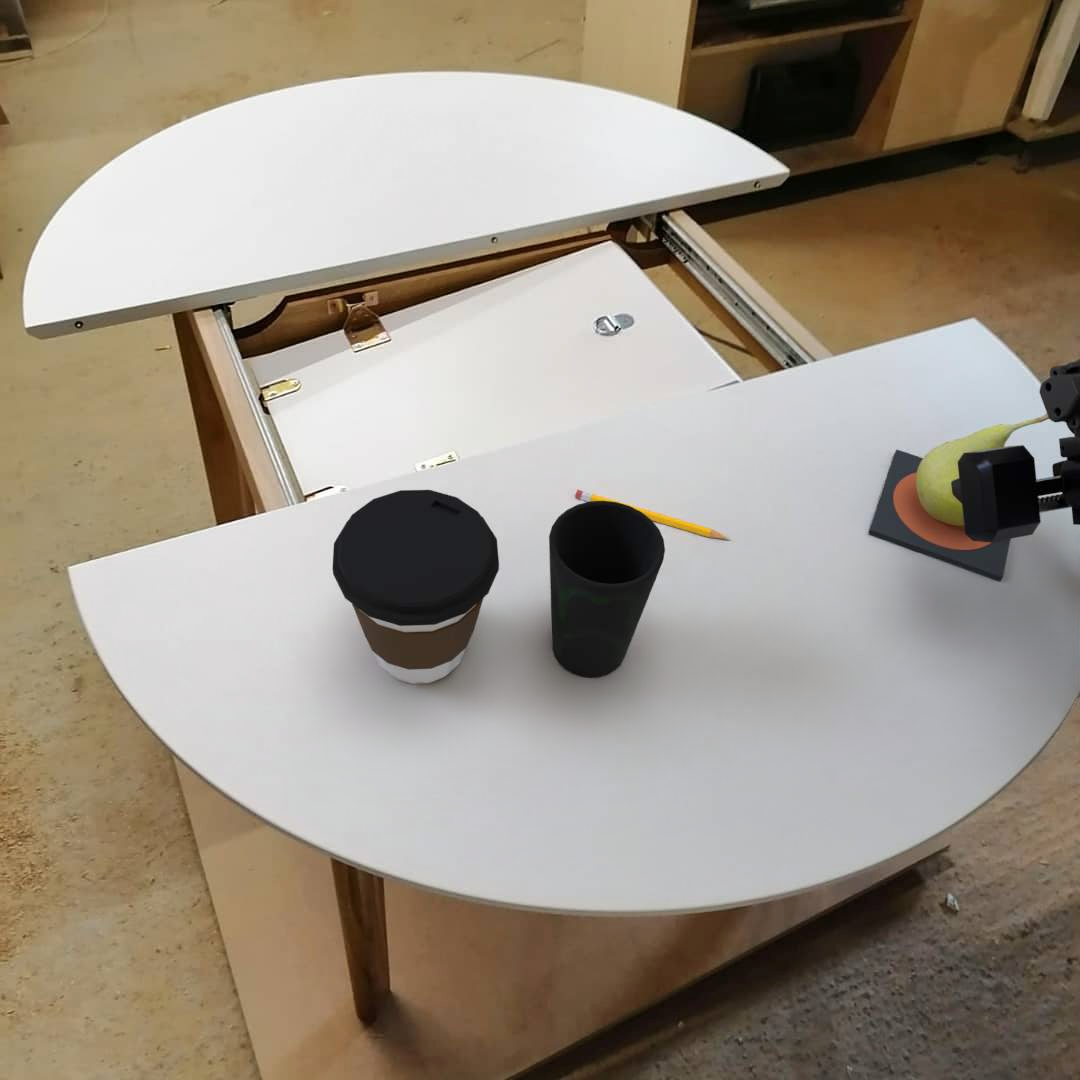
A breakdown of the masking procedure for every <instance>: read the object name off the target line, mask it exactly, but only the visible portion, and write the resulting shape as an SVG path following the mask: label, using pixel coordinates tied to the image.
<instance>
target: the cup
mask: <svg viewBox="0 0 1080 1080" xmlns="http://www.w3.org/2000/svg"><path fill="white" fill-rule="evenodd" d="M618 502H619V501H618ZM618 502H612V501H590V502H588V501H585V502H582V503H579V504H576V505H574V506H572V507H570V508H568V509H565V511H564V512H563V513H561V514H560V515H559V516H558V517H557V518H556V519H555V520H554V523H553V524H552V526H551V529H550V532H549V535H548V544H549V547H548V548H549V582H550V585H549V586H550V589H549V590H550V617H551V618H550V619H551V620H550V621H551V650H552V654H553V657H554V658H555V660H556V661H557V663H558V664H559V665H560V666H561V667H562V668H563V669H564V670H565V671H567V672H568V673H570V674H572V675H575V676H578V677H581V678H586V679H597V678H602V677H606V676H608V675H610V674H612V673H613V672H615V671H616V670H618V668H619V667H621V665H622V663H623V661H624V660H625V659H626V658H625V657H626V655H627V653H628V650H629V647H630V645H631V642H632V640H633V637H634V635H635V632H636V630H637V627H638V625H639V622H640V620H641V617H642V615H643V612H644V610H645V607H646V605H647V602H648V600H649V597H650V594H651V592H652V590H653V587H654V584H655V583H656V579H657V578H658V575H659V572H660V570H661V567H662V564H663V562H664V558H665V552H666V546H665V540H664V537H663V535H662V532H661V529H659V527H658V526H657V525H656V523H655V521H652V520H651V519H650V518H648V517H647V516H646V515H645V514H643V513H642V512H640V511H638V510H637V509H635V508H633V507H631V506H628V505H629V504H628V505H625V504H626V503H625V504H621V503H622V502H621V503H618Z"/></svg>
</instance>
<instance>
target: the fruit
mask: <svg viewBox="0 0 1080 1080" xmlns="http://www.w3.org/2000/svg"><path fill="white" fill-rule="evenodd" d="M1048 420H1050V419H1049V417H1048V414H1047V412H1046V413H1045V414H1043V415H1041V416H1039V417H1036V418H1031V419H1028V420H1027V419H1026V420H1024V421H1021V422H1017V423H1014V424H1007V423H1005V424H1004V423H1000V424H997V425H993V426H990V427H985V428H983V429H980V430H978V431H975V432H973V433H972V434H969V435H967V436H964V437H961V438H958V439H954V440H951V441H947V442H944V443H942V444H941V443H940V444H939V445H936V446H935V447H933V448H932V449H930V450H929V451H928V452H927V453H926V454H925V455H924V457H922V458H923V459H922V461H921V463H920V465H919V467H918V470H917V475H916V488H917V493H918V497H919V500H920V503H921V505H922V506H923V508H924V509H925V511H926V512H927V513H928V514H929V515H930V516H932V517H933V518H935V519H936V520H939V521H941V522H944V523H947V524H950V525H955V526H964V518H963V508H962V503H961V502H960V501H959V500H958V499H957V498H956V497H955V496H954V495H953V494H952V486H951V482H952V481H953V480H955V479H958V478H959V471H958V461H959V459H960V458H961V456H962V455H963V453H966V452H972V451H978V450H985V449H991V448H997V447H1005V445H1006V443H1007V441H1008V439H1009V438H1010V436H1011V435H1012V434H1013V433H1014V432H1015V431H1017V430H1019V429H1021V428H1024V427H1027V426H1030V425H1034V424H1039V423H1043V422H1045V421H1048Z"/></svg>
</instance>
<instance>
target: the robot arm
mask: <svg viewBox="0 0 1080 1080" xmlns="http://www.w3.org/2000/svg"><path fill="white" fill-rule="evenodd" d="M1038 393H1039V395H1040V398H1041V401H1042V403H1043V406H1044V409H1045V412H1046V413H1047V414H1048V417H1049V419H1048V420H1050V421H1051V422H1053V423H1065V424H1066V427H1067V428H1068V430H1069V431H1070V432H1071V433H1072V434H1073V435H1074V436H1068V437H1061V438H1058V443H1059V453H1060V457H1061V458H1066V459H1064V460H1062V461H1057V462H1054V463H1053V464H1052V475H1053V476H1050V477H1044V478H1038V479H1037V471H1036V463H1035V461H1036V460H1035V457H1034V456H1033V455H1032V453H1031V452H1030V451H1029V450H1028V449H1027V448H1026V447H1025V445H1023V444H1021V445H1020V444H1019V445H1007V446H1004V447H997V448H991V449H985V450H978V451H972V452H966V453H963V455H962V456H961V458H960V459H959V461H958V471H959V478H958V479H955V480H953V481H952V482H951V486H952V494H953V495H954V496H955V497H956V498H957V499H958V500H959V501H960V502H961V503H962V508H963V518H964V527H965V535H967V536H968V537H969V538H970V539H971V540H973V541H979V542H996V541H1001V540H1006V539H1010V540H1011V539H1017V538H1022V537H1027V536H1032V535H1034V533H1035V532H1036V530H1037V529H1038V527H1039V525H1040V524H1041V514H1042V513H1046V512H1047V513H1048V512H1052V511H1057V510H1062V509H1068V508H1071V516H1072V517H1071V518H1072V525H1073V526H1075V525H1076V526H1080V358H1078V359H1077V360H1075V361H1071V362H1068V363H1067V364H1062V365H1054V366H1052V367H1051V368H1050V370H1049V377H1048V378H1047V379H1046V380H1044V381H1043V382H1041V384H1040V387H1039V392H1038ZM1059 493H1060V494H1059ZM1053 494H1055V495H1053ZM1048 495H1049V496H1048Z"/></svg>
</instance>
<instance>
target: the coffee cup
mask: <svg viewBox="0 0 1080 1080" xmlns="http://www.w3.org/2000/svg"><path fill="white" fill-rule="evenodd" d="M332 550H333V552H332V575H333V577H334V579H335V581H336V583H337V585H338V587H339V589H340V592H341V594H342V595H343V598H344V599H345V600H346V601H348V602H349V603H350V604H351V605H352V607H353V610H354V612H355V615H356V617H357V620H358V622H359V625H360V628H361V631H362V632H363V635H364V637H365V639H366V642H367V643H368V646H369V648H370V649H371V651H372V652H373V654H374V656H375V658H376V660H377V662H378V664H379V666H380V667H381V668H382V669H383V670H385V671H386V672H387V673H388V674H390V676H392V677H394V678H395V679H396V680H398V681H402V682H405V683H409V684H411V685H417V684H419V685H420V684H431V683H434V682H436V681H438V680H441V679H443V678H445V677H446V676H447V675H449V674H450V673H451V672H452V671H453V670H454V669H455V668H456V667H457V666H459V664H460V663H461V661H462V659H463V656H464V654H465V652H466V650H467V647H468V645H469V643H470V640H471V638H472V636H473V634H474V631H475V628H476V625H477V621H478V618H479V615H480V611H481V608H482V605H483V602H484V598H485V597H486V596H487V595H488V594H489V593H490V590H491V588H492V586H493V584H494V582H495V580H496V577H497V574H498V573H499V569H500V559H499V546H498V539H497V537H496V535H495V533H494V532H493V531H492V529H491V527H490V525H488V523H487V521H486V520H485V518H484V517H483V516H482V515H481V514H480V512H479V511H477V509H475V508H473V507H472V506H471V505H469V504H468V503H466V502H465V501H463V500H462V499H460V498H459V497H457V496H454V495H451V494H446V493H444V492H438V491H436V490H432V489H402V490H401V489H400V490H397V491H394V492H391V493H387V494H385V495H381V496H378V497H376V498H372V499H371V500H370V501H368V502H367V503H366V504H364V505H363V506H361V507H360V508H359V509H358V510H356V511H355V512H354V513H351V515H350V516H349V519H347V521H346V523H344V526H343V528H342V529H341V531H340V532H339V534H338V536H337V537H336V539H335V541H334V543H333V549H332Z"/></svg>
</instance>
